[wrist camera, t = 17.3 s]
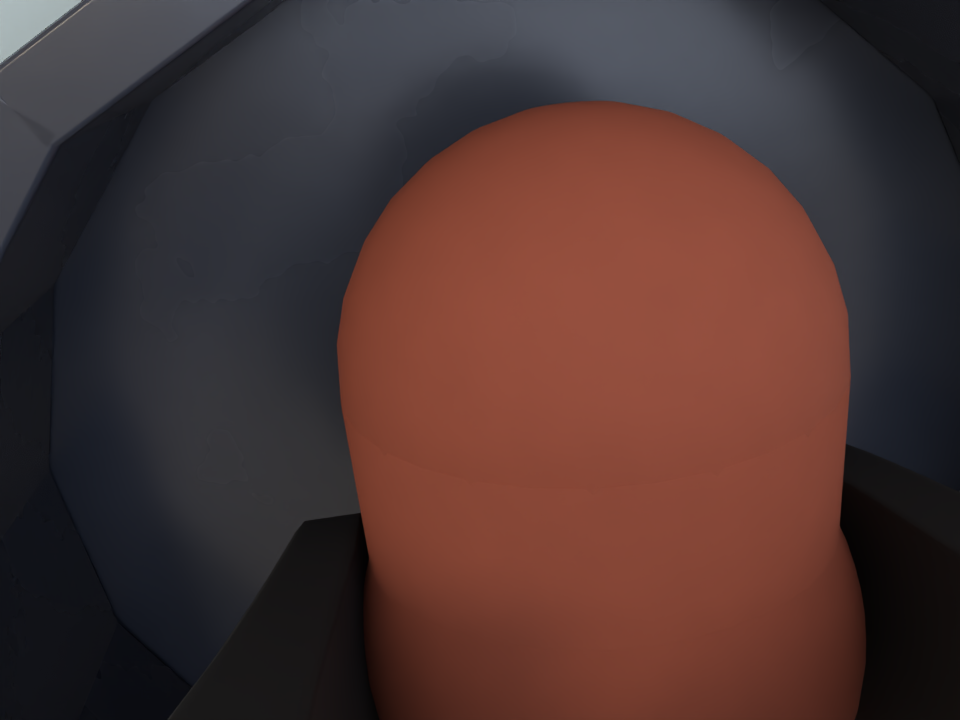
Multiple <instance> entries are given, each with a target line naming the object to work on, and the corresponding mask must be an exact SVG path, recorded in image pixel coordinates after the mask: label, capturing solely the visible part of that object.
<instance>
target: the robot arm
mask: <svg viewBox="0 0 960 720" xmlns="http://www.w3.org/2000/svg"><path fill="white" fill-rule="evenodd" d="M840 528H841V530H842V532H843V534H844V536H845V538H846V541H847V543H848V546H849V549H850V552H851V555H852V558H853V561H854V564H855V567H856V571H857V575H858V579H859V583H860V587H861V592H862V599H863V605H864V612H865V627H866V665H865V671H864V677H863V683H862V689H861V695H860V701H859V706H858V711H857V714H856V717H855V720H960V492H958V491H956V490H954V489H952V488H950V487H947V486H945V485H943V484H941V483H938V482H936V481H934V480H932V479H930V478H927V477H925V476H923V475H921V474H918V473H916V472H914V471H912V470H909V469H907V468H905V467H903V466H900V465H898V464H896V463H893V462H891V461H889V460H886V459H884V458H882V457H879V456H877V455H874V454H872V453H870V452H867V451H864V450H862V449H859V448H856V447H854V446H851V445H848V444H846V446H845V460H844V473H843V486H842V500H841V513H840ZM368 561H369V554H368V549H367V543H366V538H365V533H364V527H363V522H362V516H361V513H356V514H349V515H342V516H335V517H328V518H321V519H315V520H308V521H304V522H303V523H302V525H301V526H300V527H299V528H298V529H297V531H296V532H295V534H294V535H293V537H292V539H291V540H290V542H289V544H288V545H287V547H286V549H285V550H284V552H283V554H282V555H281V557H280V559H279V560H278V562H277V564H276V565H275V567H274V569H273V570H272V572H271V573H270V575H269V577H268V578H267V580H266V581H265V583H264V584H263V586H262V588H261V589H260V591H259V592H258V594H257V595H256V597H255V599H254V600H253V602H252V603H251V605H250V606H249V608H248V609H247V611H246V612H245V614H244V615H243V617H242V618H241V619H240V621H239V622H238V624H237V625H236V627H235V628H234V630H233V631H232V633H231V634H230V636H229V637H228V639H227V640H226V641H225V643H224V644H223V646H222V647H221V649H220V650H219V652H218V653H217V655H216V656H215V657H214V659H213V660H212V662H211V663H210V664H209V666H208V667H207V668H206V670H205V671H204V672H203V674H202V675H201V676H200V678H199V679H198V680H197V682H196V683H195V684H194V685H193V687H192V688H191V689H190V691H189V692H188V693H187V695H186V696H185V697H184V698H183V700H182V701H181V702H180V704H179V705H178V706H177V708H176V709H175V710H174V711H173V713H172V714H171V715H170V717H169V718H168V719H167V720H380V719H379V716H378V713H377V709H376V706H375V702H374V699H373V696H372V692H371V688H370V685H369V677H368V670H367V663H366V656H365V643H364V618H363V600H364V582H365V575H366V570H367V565H368Z"/></svg>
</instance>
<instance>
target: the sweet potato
mask: <svg viewBox="0 0 960 720" xmlns="http://www.w3.org/2000/svg"><path fill="white" fill-rule="evenodd" d="M337 356H338V370H339V383H340V398H341V407H342V412H343V418H344V423H345V429H346V434H347V440H348V445H349V451H350V456H351V462H352V467H353V473H354V478H355V483H356V489H357V494H358V500H359V505H360V511H361V516H362V522H363V527H364V533H365V538H366V543H367V549H368V554H369V561H368V565H367V570H366V575H365V582H364V600H363V618H364V643H365V656H366V663H367V670H368V677H369V685H370V688H371V692H372V696H373V699H374V702H375V706H376V709H377V713H378V716H379V719H380V720H855V717H856V714H857V711H858V706H859V701H860V695H861V689H862V683H863V677H864V671H865V665H866V627H865V612H864V605H863V599H862V592H861V587H860V583H859V579H858V575H857V571H856V567H855V564H854V561H853V558H852V555H851V552H850V549H849V546H848V543H847V541H846V538H845V536H844V534H843V532H842V530H841V528H840V513H841V500H842V486H843V473H844V460H845V446H846V433H847V419H848V406H849V392H850V379H851V374H850V351H849V328H848V312H847V309H846V305H845V301H844V298H843V294H842V291H841V287H840V283H839V280H838V276H837V273H836V269H835V266H834V263H833V261H832V260H831V258H830V256H829V254H828V252H827V250H826V249H825V247H824V245H823V243H822V241H821V239H820V237H819V236H818V234H817V232H816V230H815V228H814V226H813V224H812V223H811V221H810V219H809V217H808V215H807V214H806V212H805V210H804V208H803V207H802V206H801V204H800V203H799V202H798V201H797V200H796V199H795V198H794V196H793V195H792V194H791V193H790V192H789V191H788V190H787V188H786V187H785V186H784V185H783V184H782V183H781V182H780V180H779V179H778V178H777V177H776V176H775V175H774V174H773V172H772V171H771V170H770V169H769V168H768V167H766V166H765V165H763V164H762V163H761V162H759V161H758V160H757V159H755V158H754V157H753V156H751V155H750V154H748V153H747V152H746V151H744V150H743V149H742V148H740V147H739V146H738V145H736V144H735V143H733V142H732V141H731V140H729V139H728V138H726V137H725V136H723V135H722V134H720V133H718V132H716V131H713V130H711V129H709V128H707V127H704V126H702V125H700V124H697V123H695V122H693V121H691V120H688V119H686V118H684V117H681V116H679V115H677V114H674V113H671V112H668V111H664V110H659V109H653V108H648V107H643V106H637V105H632V104H627V103H621V102H615V101H579V102H567V103H558V104H551V105H545V106H539V107H535V108H531V109H527V110H524V111H521V112H518V113H516V114H513V115H511V116H508V117H505V118H503V119H500V120H498V121H495V122H492V123H490V124H487V125H485V126H482V127H479V128H477V129H475V130H473V131H472V132H470V133H469V134H467V135H466V136H464V137H462V138H461V139H459V140H458V141H456V142H455V143H453V144H452V145H450V146H449V147H447V148H446V149H444V150H443V151H441V152H440V153H438V154H437V155H435V156H434V157H432V158H431V159H430V160H429V161H428V162H427V163H426V164H425V165H424V166H423V167H422V168H421V169H420V170H419V171H418V172H417V173H416V174H415V175H414V176H413V177H412V178H411V179H410V180H409V181H408V182H407V183H406V184H405V185H404V186H403V187H402V188H401V189H400V190H399V191H398V192H397V193H396V194H395V195H394V196H393V197H392V198H391V200H390V201H389V203H388V204H387V206H386V207H385V209H384V211H383V212H382V214H381V215H380V217H379V219H378V220H377V222H376V223H375V225H374V227H373V228H372V230H371V231H370V233H369V234H368V236H367V238H366V239H365V241H364V244H363V246H362V249H361V251H360V254H359V257H358V260H357V262H356V265H355V268H354V271H353V273H352V276H351V279H350V281H349V284H348V287H347V290H346V292H345V295H344V298H343V304H342V311H341V318H340V325H339V332H338V339H337Z"/></svg>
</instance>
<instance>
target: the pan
mask: <svg viewBox="0 0 960 720" xmlns="http://www.w3.org/2000/svg"><path fill="white" fill-rule="evenodd" d="M579 101H615V102H621V103H627V104H632V105H637V106H643V107H648V108H653V109H659V110H664V111H668V112H671V113H674V114H677V115H679V116H681V117H684V118H686V119H688V120H691V121H693V122H695V123H697V124H700V125H702V126H704V127H707V128H709V129H711V130H713V131H716V132H718V133H720V134H722V135H723V136H725V137H726V138H728V139H729V140H731V141H732V142H733V143H735V144H736V145H738V146H739V147H740V148H742V149H743V150H744V151H746V152H747V153H748V154H750V155H751V156H753V157H754V158H755V159H757V160H758V161H759V162H761V163H762V164H763V165H765V166H766V167H768V168H769V169H770V170H771V171H772V172H773V174H774V175H775V176H776V177H777V178H778V179H779V180H780V182H781V183H782V184H783V185H784V186H785V187H786V188H787V190H788V191H789V192H790V193H791V194H792V195H793V196H794V198H795V199H796V200H797V201H798V202H799V203H800V204H801V206H802V207H803V208H804V210H805V212H806V214H807V215H808V217H809V219H810V221H811V223H812V224H813V226H814V228H815V230H816V232H817V234H818V236H819V237H820V239H821V241H822V243H823V245H824V247H825V249H826V250H827V252H828V254H829V256H830V258H831V260H832V261H833V263H834V266H835V269H836V273H837V276H838V280H839V283H840V287H841V291H842V294H843V298H844V301H845V305H846V309H847V312H848V328H849V351H850V374H851V379H850V392H849V406H848V419H847V433H846V444H848V445H851V446H854V447H856V448H859V449H862V450H864V451H867V452H870V453H872V454H874V455H877V456H879V457H882V458H884V459H886V460H889V461H891V462H893V463H896V464H898V465H900V466H903V467H905V468H907V469H909V470H912V471H914V472H916V473H918V474H921V475H923V476H925V477H927V478H930V479H932V480H934V481H936V482H938V483H941V484H943V485H945V486H947V487H950V488H952V489H954V490H956V491H958V492H960V0H82V1H81V2H80V3H78V4H77V5H76V6H74V7H73V8H72V9H70V10H69V11H68V12H67V13H65V14H64V15H63V16H61V17H60V18H59V19H58V20H56V21H55V22H54V23H52V24H51V25H50V26H48V27H47V28H46V29H45V30H43V31H42V32H41V33H39V34H38V35H37V36H35V37H34V38H33V39H32V40H30V41H29V42H28V43H26V44H25V45H24V46H22V47H21V48H20V49H19V50H17V51H16V52H15V53H13V54H12V55H11V56H9V57H8V58H7V59H6V60H4V61H3V62H2V63H0V720H167V719H168V718H169V717H170V715H171V714H172V713H173V711H174V710H175V709H176V708H177V706H178V705H179V704H180V702H181V701H182V700H183V698H184V697H185V696H186V695H187V693H188V692H189V691H190V689H191V688H192V687H193V685H194V684H195V683H196V682H197V680H198V679H199V678H200V676H201V675H202V674H203V672H204V671H205V670H206V668H207V667H208V666H209V664H210V663H211V662H212V660H213V659H214V657H215V656H216V655H217V653H218V652H219V650H220V649H221V647H222V646H223V644H224V643H225V641H226V640H227V639H228V637H229V636H230V634H231V633H232V631H233V630H234V628H235V627H236V625H237V624H238V622H239V621H240V619H241V618H242V617H243V615H244V614H245V612H246V611H247V609H248V608H249V606H250V605H251V603H252V602H253V600H254V599H255V597H256V595H257V594H258V592H259V591H260V589H261V588H262V586H263V584H264V583H265V581H266V580H267V578H268V577H269V575H270V573H271V572H272V570H273V569H274V567H275V565H276V564H277V562H278V560H279V559H280V557H281V555H282V554H283V552H284V550H285V549H286V547H287V545H288V544H289V542H290V540H291V539H292V537H293V535H294V534H295V532H296V531H297V529H298V528H299V527H300V526H301V525H302V523H303V522H304V521H308V520H315V519H321V518H328V517H335V516H342V515H349V514H356V513H361V511H360V505H359V500H358V494H357V489H356V483H355V478H354V473H353V467H352V462H351V456H350V451H349V445H348V440H347V434H346V429H345V423H344V418H343V412H342V407H341V398H340V383H339V370H338V356H337V339H338V332H339V325H340V318H341V311H342V304H343V298H344V295H345V292H346V290H347V287H348V284H349V281H350V279H351V276H352V273H353V271H354V268H355V265H356V262H357V260H358V257H359V254H360V251H361V249H362V246H363V244H364V241H365V239H366V238H367V236H368V234H369V233H370V231H371V230H372V228H373V227H374V225H375V223H376V222H377V220H378V219H379V217H380V215H381V214H382V212H383V211H384V209H385V207H386V206H387V204H388V203H389V201H390V200H391V198H392V197H393V196H394V195H395V194H396V193H397V192H398V191H399V190H400V189H401V188H402V187H403V186H404V185H405V184H406V183H407V182H408V181H409V180H410V179H411V178H412V177H413V176H414V175H415V174H416V173H417V172H418V171H419V170H420V169H421V168H422V167H423V166H424V165H425V164H426V163H427V162H428V161H429V160H430V159H431V158H432V157H434V156H435V155H437V154H438V153H440V152H441V151H443V150H444V149H446V148H447V147H449V146H450V145H452V144H453V143H455V142H456V141H458V140H459V139H461V138H462V137H464V136H466V135H467V134H469V133H470V132H472V131H473V130H475V129H477V128H479V127H482V126H485V125H487V124H490V123H492V122H495V121H498V120H500V119H503V118H505V117H508V116H511V115H513V114H516V113H518V112H521V111H524V110H527V109H531V108H535V107H539V106H545V105H551V104H558V103H567V102H579Z"/></svg>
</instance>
